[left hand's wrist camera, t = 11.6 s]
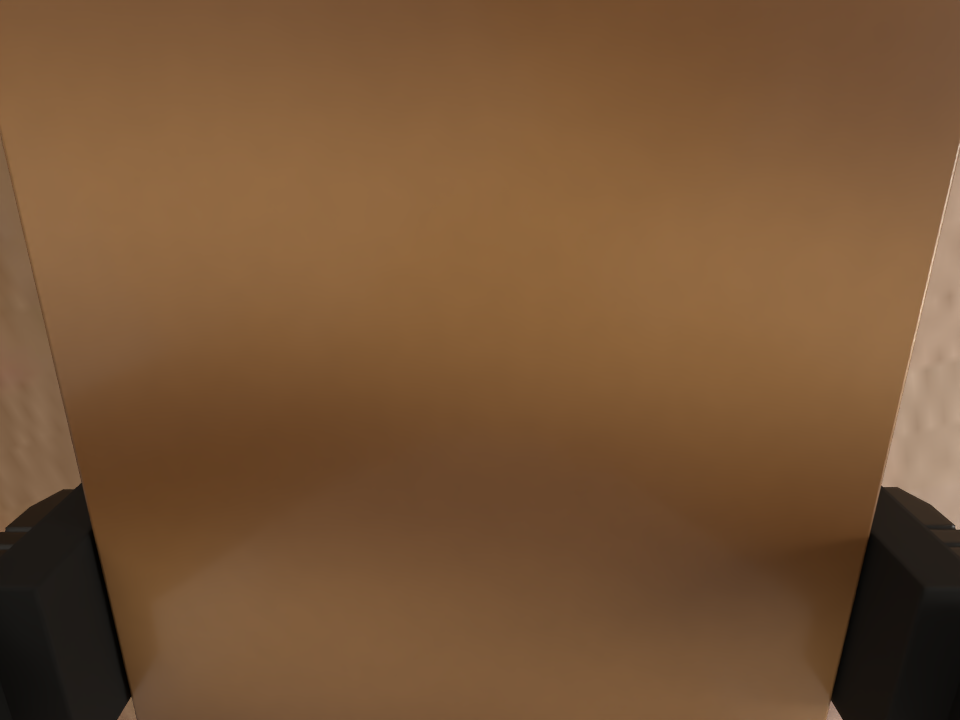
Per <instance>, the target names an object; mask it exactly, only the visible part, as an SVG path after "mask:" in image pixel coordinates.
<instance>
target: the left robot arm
mask: <svg viewBox="0 0 960 720" xmlns="http://www.w3.org/2000/svg"><path fill="white" fill-rule="evenodd" d="M130 697H131V692H130V688H129V683H128V679H127V675H126V670H125V666H124V662H123V658H122V653H121V649H120V645H119V640H118V636H117V632H116V628H115V623H114V619H113V615H112V610H111V606H110V602H109V598H108V593H107V589H106V585H105V580H104V576H103V572H102V568H101V563H100V559H99V555H98V550H97V546H96V542H95V538H94V533H93V529H92V525H91V520H90V516H89V512H88V508H87V503H86V499H85V495H84V490H83V486H82V483H81V484H80V485H79V486H78V487H76V488H75V489H63V490H61V491H59V492H57V493H56V494H54V495H52V496H50V497H48V498H46V499H44V500H42V501H40V502H39V503H37V504H35V505H33V506H31V507H29V508H28V509H27V510H26V511H25V512H24V513H22V514H21V515H20V516H19V517H18V518H17V519H15V520H14V521H13V522H12V523H11V524H10V525H8V526H7V527H6V530H5V532H0V720H117V719H118V717H119V716H120V714H121V712H122V711H123V709H124V707H125V706H126V704H127V702H128V701H129V699H130ZM831 701H832V702H833V704H834V706H835V707H836V709H837V711H838V712H839V714H840V716H841V717H842V719H843V720H960V530H956V529H955V525H954V524H953V523H952V522H950V521H949V520H948V519H947V518H946V517H944V516H943V515H942V514H941V513H940V512H939V511H937V510H936V509H935V508H934V507H933V506H932V505H930V504H928V503H926V502H924V501H923V500H921V499H919V498H917V497H915V496H913V495H911V494H909V493H907V492H905V491H904V490H902V489H900V488H898V487H882V486H881V488H880V493H879V497H878V501H877V505H876V510H875V514H874V518H873V522H872V527H871V531H870V535H869V539H868V544H867V548H866V552H865V556H864V561H863V565H862V569H861V573H860V578H859V582H858V586H857V590H856V595H855V599H854V603H853V607H852V612H851V616H850V620H849V624H848V629H847V633H846V637H845V641H844V646H843V650H842V654H841V658H840V663H839V667H838V671H837V676H836V680H835V684H834V688H833V693H832V697H831Z"/></svg>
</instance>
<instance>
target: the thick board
mask: <svg viewBox="0 0 960 720" xmlns="http://www.w3.org/2000/svg"><path fill="white" fill-rule="evenodd" d="M0 135H1V139H2V143H3V148H4V152H5V156H6V160H7V165H8V169H9V173H10V178H11V182H12V186H13V190H14V195H15V199H16V203H17V208H18V212H19V216H20V220H21V225H22V229H23V233H24V238H25V242H26V246H27V250H28V255H29V259H30V263H31V268H32V272H33V276H34V280H35V285H36V289H37V293H38V298H39V302H40V306H41V310H42V315H43V319H44V323H45V328H46V332H47V336H48V340H49V345H50V349H51V353H52V358H53V362H54V366H55V370H56V375H57V379H58V383H59V388H60V392H61V396H62V400H63V405H64V409H65V413H66V418H67V422H68V426H69V430H70V435H71V439H72V443H73V448H74V452H75V456H76V460H77V465H78V469H79V473H80V478H81V482H82V486H83V490H84V495H85V499H86V503H87V508H88V512H89V516H90V520H91V525H92V529H93V533H94V538H95V542H96V546H97V550H98V555H99V559H100V563H101V568H102V572H103V576H104V580H105V585H106V589H107V593H108V598H109V602H110V606H111V610H112V615H113V619H114V623H115V628H116V632H117V636H118V640H119V645H120V649H121V653H122V658H123V662H124V666H125V670H126V675H127V679H128V683H129V688H130V692H131V696H132V700H133V705H134V709H135V713H136V718H137V720H826V718H827V714H828V710H829V705H830V701H831V697H832V693H833V688H834V684H835V680H836V676H837V671H838V667H839V663H840V658H841V654H842V650H843V646H844V641H845V637H846V633H847V629H848V624H849V620H850V616H851V612H852V607H853V603H854V599H855V595H856V590H857V586H858V582H859V578H860V573H861V569H862V565H863V561H864V556H865V552H866V548H867V544H868V539H869V535H870V531H871V527H872V522H873V518H874V514H875V510H876V505H877V501H878V497H879V493H880V488H881V484H882V480H883V476H884V471H885V467H886V463H887V459H888V454H889V450H890V446H891V442H892V437H893V433H894V429H895V425H896V420H897V416H898V412H899V408H900V403H901V399H902V395H903V390H904V386H905V382H906V378H907V373H908V369H909V365H910V361H911V356H912V352H913V348H914V344H915V339H916V335H917V331H918V327H919V322H920V318H921V314H922V310H923V305H924V301H925V297H926V293H927V288H928V284H929V280H930V276H931V271H932V267H933V263H934V259H935V254H936V250H937V246H938V242H939V237H940V233H941V229H942V225H943V220H944V216H945V212H946V208H947V203H948V199H949V195H950V191H951V186H952V182H953V178H954V174H955V169H956V165H957V161H958V157H959V152H960V0H0Z"/></svg>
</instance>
